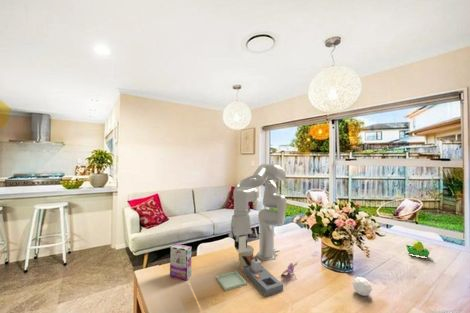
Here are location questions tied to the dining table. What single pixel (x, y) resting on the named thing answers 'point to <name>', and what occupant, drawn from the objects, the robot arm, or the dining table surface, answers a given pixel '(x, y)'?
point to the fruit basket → (418, 249)
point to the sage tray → (231, 280)
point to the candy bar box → (180, 261)
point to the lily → (290, 269)
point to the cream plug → (242, 243)
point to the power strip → (264, 281)
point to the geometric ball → (362, 286)
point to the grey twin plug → (256, 265)
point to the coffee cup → (246, 257)
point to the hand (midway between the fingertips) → (240, 247)
